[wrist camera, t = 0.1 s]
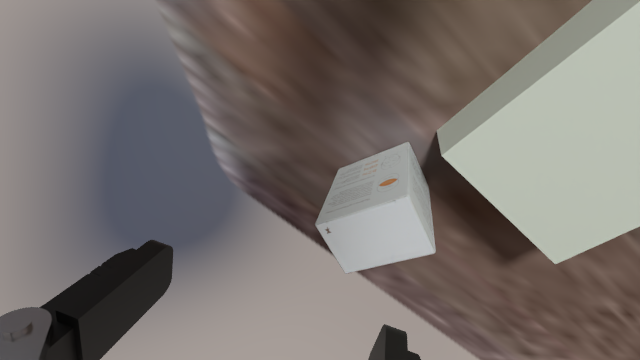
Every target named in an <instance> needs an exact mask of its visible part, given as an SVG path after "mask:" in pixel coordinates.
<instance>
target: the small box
mask: <svg viewBox="0 0 640 360" xmlns="http://www.w3.org/2000/svg"><path fill="white" fill-rule="evenodd" d="M315 226H316V227H317V229H318V230H319V232H320V234H321V235H322V237H323V239H324V240H325V242H326V243H327V245H328V247H329V248H330V250H331V252H332V253H333V255H334V256H335V258H336V260H337V261H338V263H339V264H340V266H341V268H342V269H343V271H344V272H345V273H346V274H347V273H351V272H356V271H360V270H365V269H369V268H373V267H377V266H382V265H386V264H391V263H395V262H399V261H404V260H408V259H413V258H417V257H421V256H426V255H430V254H435V252H436V249H435V240H434V231H433V222H432V212H431V204H430V195H429V187H428V184H427V182H426V179H425V177H424V175H423V172H422V170H421V168H420V166H419V163H418V161H417V159H416V157H415V154H414V152H413V150H412V148H411V146H410V143H409V142H406V143H404V144H401V145H399V146H396V147H393V148H391V149H388V150H386V151H383V152H381V153H378V154H376V155H373V156H371V157H368V158H365V159H363V160H360V161H358V162H355V163H353V164H350V165H348V166H345V167H342V168H340V169H339V170H338V172H337V174H336V177H335V179H334V181H333V184H332V186H331V188H330V191H329V193H328V195H327V197H326V200H325V202H324V205H323V207H322V209H321V211H320V214H319V216H318V218H317V221H316V223H315Z"/></svg>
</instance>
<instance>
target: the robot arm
mask: <svg viewBox="0 0 640 360" xmlns="http://www.w3.org/2000/svg"><path fill="white" fill-rule="evenodd" d="M172 263H173V248H172V247H171V246H169V245H166V244H163V243H160V242H157V241H155V240H150V241H148V242H146V243H145V244H144V245H142V246H141V247H140V248H138V249H137V250H135V249H133V248H132V249H129V250H126V251H124V252H121V253H118V254H116V255H114V256H113V257H111V258H110V259H108V260H107V261H106V262H104V263H103V264H102V265H101V266H98V267H97V268H96V269H94V270H93V271H91V273H90V274H87V275H86V276H84V277H83V278H81V279H80V280H79V281H77V282H76V283H74V284H73V285H71V286H70V287H69V288H67V289H66V290H64V291H63V292H62V293H60V294H59V295H57V296H56V297H54V298H53V299H52V300H50V301H49V302H47V303H46V304H44V305H43V306H41V307H39V308H38V307H30V308H22V309H18V310H14V311H11V312H9V313H6V314H4V315H2V316H1V317H0V360H100V359H101V358H102V357H103V355H105V354H106V353H107V351H109V349H110V348H112V346H113V345H115V343H116V342H117V341H118V340H119V339H120V338H121V337H122V336H123V335H124V334H125V333H126V332H127V331H128V330H129V329H130V328H131V327H132V326H133V325H134V324H135V323H136V322H137V321H138V320H139V319H140V318H141V317H142V316H143V315H144V314H145V313H146V312H147V311H148V310H149V309H150V308H151V307H152V306H153V305H154V304H155V303H156V302H157V301H158V299H160V298H161V296H163V295H164V293H165V292H166V290H167V289H168V287H169V285H170V283H171V279H172ZM369 360H421V359H420V357H419V355H418V354H415V353H413V352H410V351H408V349H407V334H406V332H404V331H401V330H399V329H396V328H393V327H391V326H388V325H385V324H384V325H383V327H382V329H381V331H380V333H379V336H378V338H377V340H376V342H375V344H374V346H373V349H372V351H371V353H370V356H369Z"/></svg>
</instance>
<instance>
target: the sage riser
mask: <svg viewBox="0 0 640 360" xmlns="http://www.w3.org/2000/svg"><path fill="white" fill-rule="evenodd" d="M437 136H438V141H439V146H440V151H441V156H442V157H443V158H444V159H445V160H446V161H448V162H449V163H450V164H451V165H452V166H453V167H454V168H455V169H456V170H457V171H458V172H459V173H460V174H461V175H462V176H463V177H464V178H465V179H466V180H467V181H468V182H470V183H471V184H472V185H473V186H474V187H475V188H476V189H477V190H478V191H479V192H480V193H481V194H482V195H483V196H484V197H485V198H486V199H487V200H488V201H489V202H491V203H492V204H493V205H494V206H495V207H496V208H497V209H498V210H499V211H500V212H501V213H502V214H503V215H504V216H505V217H506V218H507V219H508V220H509V221H510V222H511V223H513V224H514V225H515V226H516V227H517V228H518V229H519V230H520V231H521V232H522V233H523V234H524V235H525V236H526V237H527V238H528V239H529V240H530V241H531V242H532V243H533V244H535V245H536V246H537V247H538V248H539V249H540V250H541V251H542V252H543V253H544V254H545V255H546V256H547V257H548V258H549V259H550V260H551V261H552V262H553V263H554V264H557V263H559V262H562V261H564V260H566V259H568V258H570V257H573V256H575V255H577V254H579V253H581V252H584V251H586V250H588V249H590V248H593V247H595V246H597V245H599V244H601V243H604V242H606V241H608V240H610V239H612V238H615V237H617V236H619V235H621V234H623V233H626V232H628V231H630V230H632V229H635V228H637V227H639V226H640V0H592V1H591V2H590V3H589V4H588V5H586V6H585V7H584V8H583V9H582V10H580V11H579V12H578V13H577V14H576V15H574V16H573V17H572V18H571V19H570V20H569V21H567V22H566V23H565V24H564V25H563V26H561V27H560V28H559V29H558V30H557V31H555V32H554V33H553V34H552V35H551V36H549V37H548V38H547V39H546V40H545V41H543V42H542V43H541V44H540V45H539V46H537V47H536V48H535V49H534V50H533V51H531V52H530V53H529V54H528V55H527V56H525V57H524V58H523V59H522V60H521V61H519V62H518V63H517V64H516V65H515V66H513V67H512V68H511V69H510V70H509V71H508V72H506V73H505V74H504V75H503V76H502V77H500V78H499V79H498V80H497V81H496V82H494V83H493V84H492V85H491V86H490V87H488V88H487V89H486V90H485V91H484V92H482V93H481V94H480V95H479V96H478V97H476V98H475V99H474V100H473V101H472V102H470V103H469V104H468V105H467V106H466V107H464V108H463V109H462V110H461V111H460V112H458V113H457V114H456V115H455V116H454V117H452V118H451V119H450V120H449V121H448V122H446V123H445V124H444V125H443V126H442V127H441V128H439V129H438V130H437Z"/></svg>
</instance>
